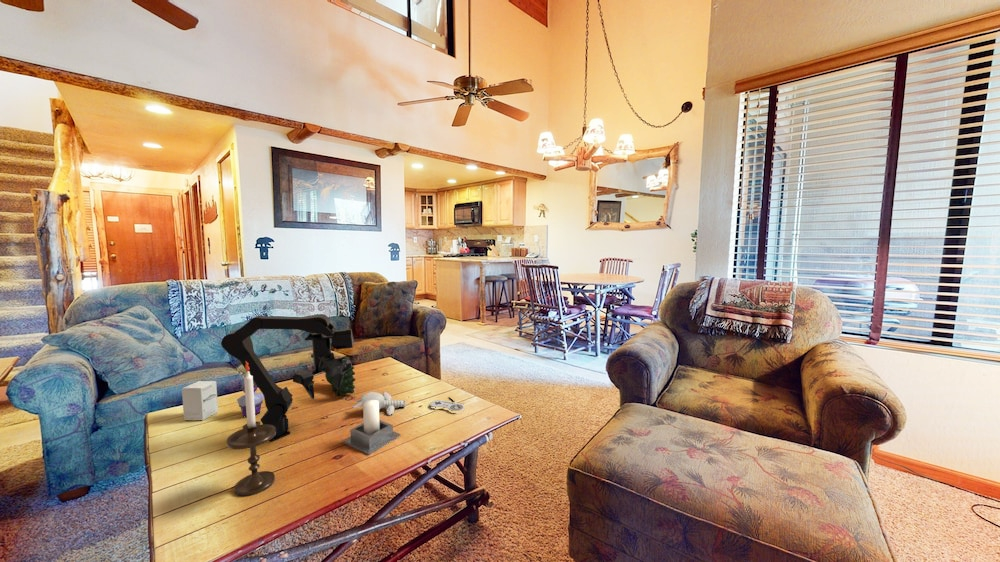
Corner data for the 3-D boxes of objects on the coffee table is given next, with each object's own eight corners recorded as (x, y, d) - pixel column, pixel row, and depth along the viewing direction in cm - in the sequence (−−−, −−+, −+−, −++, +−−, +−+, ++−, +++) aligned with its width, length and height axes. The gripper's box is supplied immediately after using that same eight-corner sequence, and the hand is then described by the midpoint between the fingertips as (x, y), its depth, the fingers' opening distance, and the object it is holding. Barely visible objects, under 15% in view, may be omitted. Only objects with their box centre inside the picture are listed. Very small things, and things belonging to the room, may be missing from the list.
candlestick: (264, 497, 92) (256, 366, 88) (220, 499, 91) (210, 367, 87) (286, 471, 102) (279, 353, 99) (246, 472, 102) (239, 354, 98)
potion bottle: (265, 407, 143) (263, 378, 142) (265, 415, 136) (263, 385, 134) (238, 412, 138) (236, 382, 137) (237, 421, 131) (235, 390, 130)
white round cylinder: (365, 442, 116) (364, 407, 115) (362, 435, 120) (361, 401, 119) (381, 438, 119) (380, 404, 117) (378, 431, 123) (377, 398, 122)
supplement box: (203, 421, 131) (200, 388, 130) (183, 421, 131) (180, 388, 130) (219, 412, 138) (216, 380, 137) (200, 411, 139) (198, 380, 137)
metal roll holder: (368, 455, 111) (368, 441, 110) (342, 442, 117) (342, 430, 117) (400, 436, 122) (400, 424, 121) (375, 426, 128) (374, 414, 128)
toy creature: (408, 406, 137) (353, 407, 129) (405, 420, 140) (350, 423, 132) (405, 384, 148) (354, 384, 140) (402, 398, 151) (351, 399, 142)
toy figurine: (361, 399, 154) (341, 378, 172) (361, 358, 151) (341, 341, 169) (338, 406, 148) (320, 383, 166) (338, 363, 145) (320, 345, 163)
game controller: (426, 409, 143) (426, 404, 143) (443, 396, 155) (443, 392, 155) (459, 416, 137) (459, 411, 137) (474, 402, 149) (474, 398, 149)
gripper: (308, 362, 111) (312, 409, 113) (359, 346, 127) (362, 388, 129) (289, 357, 117) (294, 402, 119) (340, 343, 133) (343, 383, 135)
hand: (325, 393), depth 125 cm, fingers open, 9 cm apart
